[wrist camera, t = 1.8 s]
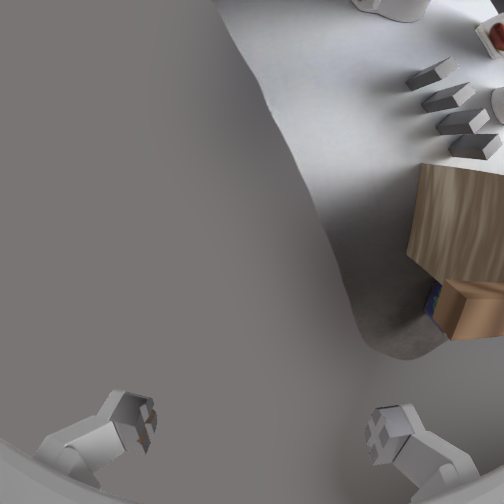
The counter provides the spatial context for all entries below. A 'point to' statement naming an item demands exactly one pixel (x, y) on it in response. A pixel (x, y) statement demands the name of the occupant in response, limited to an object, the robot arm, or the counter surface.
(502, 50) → the juice carton
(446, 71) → the domino
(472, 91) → the domino
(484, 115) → the domino
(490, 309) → the walnut rail
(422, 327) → the counter surface
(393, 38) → the counter surface
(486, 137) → the domino
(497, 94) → the pill bottle
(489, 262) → the plywood stand
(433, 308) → the flask
